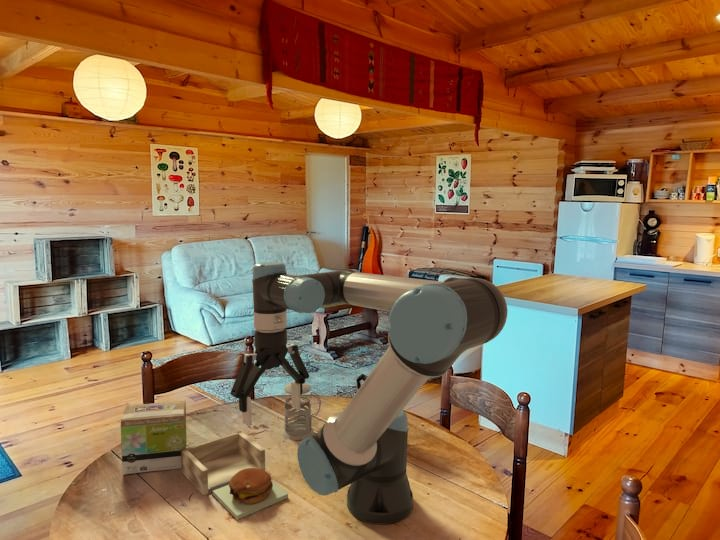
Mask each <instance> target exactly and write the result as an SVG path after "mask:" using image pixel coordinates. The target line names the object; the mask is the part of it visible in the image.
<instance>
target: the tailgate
mask: <svg viewBox="0 0 720 540" xmlns="http://www.w3.org/2000/svg"><path fill="white" fill-rule="evenodd" d="M229 482H230V480H229V481H226V482H224V483H221V484H218V485H216V486H213V487H211V488H210V490H211V492H210V493H212V496H213V497H215V499H217V501H218V502H219V503H220V504H221V505H222V506H223V507H224V508H225V510H227V512H229V514H230V515H231V516H233V517H234V519H235V520H237V521H238V520H240V519H242V518H244V517H247V516H250V515H252V514H253V513H256V512H258V511H261V510H263V509H265V508H267V507H270V506H272V505H275V504H277V503H279V502H281V501H284V500H286V499H288V498H289V493H288V492H287V491H286V490H284V489H283V488H282V487H280V485H278V484H277V483H276V482H274V480H272V479H271V482H272V483H273V487H272V489H271V491H270V493H269V496H268V497H267V498H266V499H265V500H263V501H261V502H259V503H256V504H246V503H244V502H243V501H242V502H238V501H236V500H235V499H234V498H233V495H232V494H230V487H229Z"/></svg>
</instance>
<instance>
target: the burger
mask: <svg viewBox="0 0 720 540" xmlns="http://www.w3.org/2000/svg"><path fill="white" fill-rule="evenodd" d="M271 480H272V476H271V475H270V473H269V472H268V471H266V470H265V471H264V470H261V469H257V468H247V469H243V470H241V471H239V472H237V473H236V474H235V475H234V476H233V477H232V478H231V480H230V482H229V487H230V494H232V495H233V498H234V499H235V500H236V501H238V502H242V501H243V502H244V503H246V504H256V503H259V502H261V501H263V500H265V499H266V498H267V497H268V496H269V493H270V491H271V489H272V487H273V483H272V482H271Z"/></svg>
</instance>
